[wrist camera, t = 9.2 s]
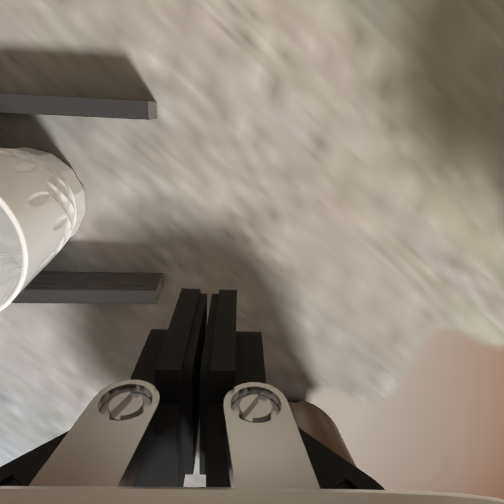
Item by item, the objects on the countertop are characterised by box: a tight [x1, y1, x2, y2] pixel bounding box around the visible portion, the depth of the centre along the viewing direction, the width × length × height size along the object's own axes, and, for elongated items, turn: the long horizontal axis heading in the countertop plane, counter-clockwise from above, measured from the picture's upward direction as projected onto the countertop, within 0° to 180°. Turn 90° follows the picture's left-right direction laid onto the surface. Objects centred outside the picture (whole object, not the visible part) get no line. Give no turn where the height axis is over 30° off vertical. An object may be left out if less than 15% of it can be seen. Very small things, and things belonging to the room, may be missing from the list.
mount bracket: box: [0, 93, 163, 304], centre depth 25 cm, size 13×13×3 cm
